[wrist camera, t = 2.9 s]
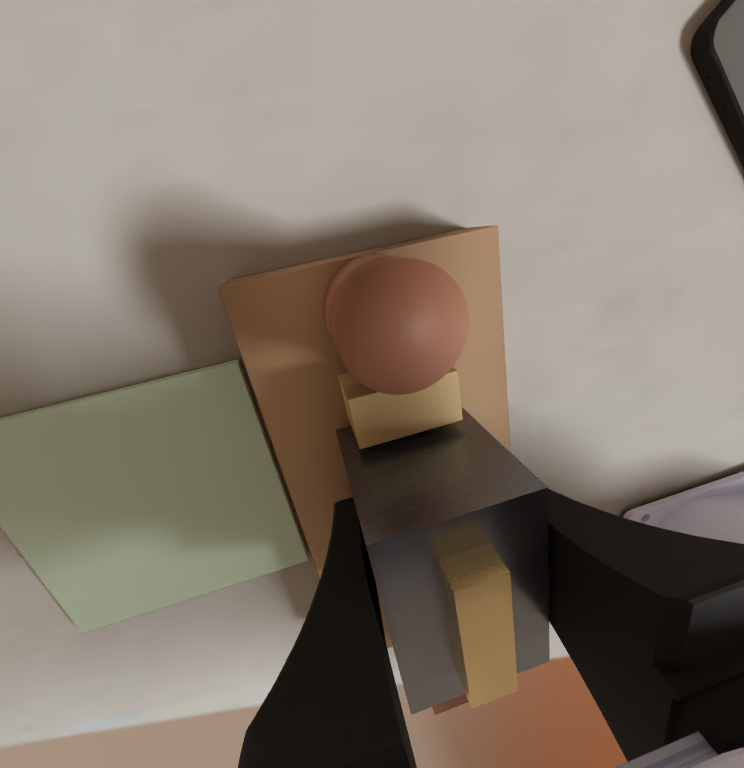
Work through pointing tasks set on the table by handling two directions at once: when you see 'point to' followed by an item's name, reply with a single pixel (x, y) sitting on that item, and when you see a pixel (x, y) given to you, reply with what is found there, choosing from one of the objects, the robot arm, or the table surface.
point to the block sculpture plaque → (371, 358)
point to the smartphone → (724, 66)
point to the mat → (146, 495)
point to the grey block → (455, 558)
